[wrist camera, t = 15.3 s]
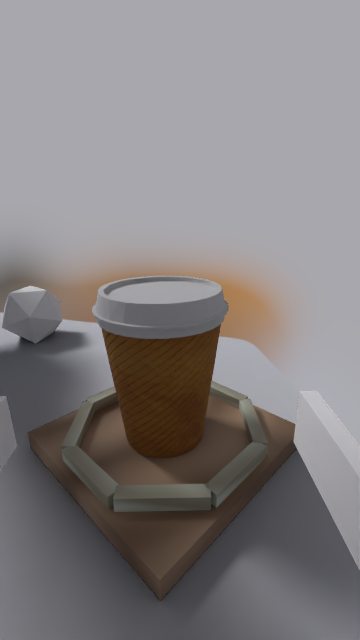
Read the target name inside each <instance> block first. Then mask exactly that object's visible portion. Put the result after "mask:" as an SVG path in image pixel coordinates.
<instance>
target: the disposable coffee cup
mask: <svg viewBox="0 0 360 640" xmlns="http://www.w3.org/2000/svg"><path fill="white" fill-rule="evenodd" d="M228 307H229V306H228V303H227V302H226V301H225V300H224V296H223V291H222V287H221V286H220V285H219V284H218V283H216V282H213V281H210V280H206V279H202V278H193V277H185V276H148V277H137V278H129V279H123V280H119V281H115V282H111V283H108V284H106V285H104V286H102V287H100V288H99V290H98V294H97V302H96V304H95V305H94V307H93V308H92V312H93V316H94V317H95V318H96V319H97V323H98V324H99V326H100V327H101V328H102V332H103V337H104V341H105V346H106V350H107V355H108V359H109V364H110V367H111V372H112V377H113V381H114V385H115V390H116V394H117V399H118V402H119V407H120V411H121V415H122V420H123V424H124V429H125V433H126V438H127V441H128V443H129V445H130V446H131V447H132V448H133V449H134V450H136V451H137V452H139V453H141V454H143V455H146V456H150V457H157V458H170V457H175V456H179V455H182V454H185V453H187V452H189V451H191V450H192V449H193V448H195V447H196V446H197V445H198V444H199V442H200V441H201V439H202V437H203V431H204V424H205V418H206V412H207V406H208V400H209V394H210V387H211V381H212V375H213V369H214V363H215V357H216V350H217V344H218V338H219V333H220V326H221V323H222V322H223V320H224V316H225V315H226V314H227V312H228Z"/></svg>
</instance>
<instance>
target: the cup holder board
mask: <svg viewBox="0 0 360 640" xmlns="http://www.w3.org/2000/svg"><path fill="white" fill-rule="evenodd" d="M295 425H296V424H294V423H291V422H289V421H287V420H285V419H283V418H280V417H278V416H276V415H274V414H272V413H269V412H267V411H265V410H263V409H261V408H258V407H256V406H254V405H253V404H252V402H251V399H248V396H245V395H243V394H241V393H238V392H236V391H234V390H232V389H229V388H227V387H225V386H222V385H220V384H218V383H216V382H213V381H211V387H210V394H209V400H208V406H207V412H206V418H205V424H204V431H203V437H202V439H201V441H200V442H199V444H198V445H197V446H196V447H195V448H193V449H192V450H191V451H189V452H187V453H185V454H182V455H179V456H175V457H170V458H157V457H150V456H146V455H143V454H141V453H139V452H137V451H136V450H134V449H133V448H132V447H131V446H130V445H129V443H128V441H127V438H126V433H125V429H124V424H123V420H122V415H121V411H120V407H119V402H118V399H117V394H116V390H115V386H114V387H112V388H110V389H107V390H105V391H103V392H101V393H98V394H96V395H94V396H92V397H90V398H87V399H86V401H83V402H82V404H81V407H80V409H78V410H76V411H73V412H71V413H69V414H67V415H65V416H63V417H61V418H58V419H56V420H54V421H52V422H50V423H48V424H45V425H43V426H41V427H39V428H37V429H35V430H33V431H30V432H28V436H29V441H30V446H31V449H32V450H33V451H34V452H35V453H36V454H37V456H38V457H39V458H40V459H41V460H42V462H43V463H44V464H45V465H46V466H47V467H48V469H49V470H50V471H51V472H52V473H53V474H54V476H55V477H56V478H57V479H58V480H59V482H60V483H61V484H62V485H63V486H64V487H65V489H66V490H67V491H68V492H69V493H70V495H71V496H72V497H73V498H74V499H75V500H76V502H77V503H78V504H79V505H80V506H81V507H82V509H83V510H84V511H85V512H86V513H87V515H88V516H89V517H90V518H91V519H92V520H93V522H94V523H95V524H96V525H97V526H98V528H99V529H100V530H101V531H102V532H103V533H104V535H105V536H106V537H107V538H108V539H109V541H110V542H111V543H112V544H113V545H114V546H115V548H116V549H117V550H118V551H119V552H120V553H121V555H122V556H123V557H124V558H125V559H126V561H127V562H128V563H129V564H130V565H131V566H132V568H133V569H134V570H135V571H136V572H137V574H138V575H139V576H140V577H141V578H142V579H143V581H144V582H145V583H146V584H147V585H148V586H149V588H150V589H151V590H152V591H153V592H154V594H155V595H156V596H157V597H158V598H159V599H160V601H161V600H162V599H163V598H164V596H165V595H166V594H167V593H168V592H169V591H170V590H171V589H172V587H173V586H174V585H175V584H176V583H177V582H178V581H179V580H180V579H181V577H182V576H183V575H184V574H185V573H186V572H187V571H188V570H189V568H190V567H191V566H192V565H193V564H194V563H195V562H196V561H197V559H198V558H199V557H200V556H201V555H202V554H203V553H204V552H205V550H206V549H207V548H208V547H209V546H210V545H211V544H212V543H213V541H214V540H215V539H216V538H217V537H218V536H219V535H220V534H221V533H222V531H223V530H224V529H225V528H226V527H227V526H228V525H229V524H230V522H231V521H232V520H233V519H234V518H235V517H236V516H237V515H238V513H239V512H240V511H241V510H242V509H243V508H244V507H245V506H246V504H247V503H248V502H249V501H250V500H251V499H252V498H253V497H254V496H255V494H256V493H257V492H258V491H259V490H260V489H261V488H262V487H263V485H264V484H265V483H266V482H267V481H268V480H269V479H270V478H271V476H272V475H273V474H274V473H275V472H276V471H277V470H278V469H279V467H280V466H281V465H282V464H283V463H284V462H285V461H286V460H287V459H288V457H289V456H290V455H291V454H292V453H293V452H294V451H295V450H296V446H295V444H294V442H293V441H294V433H295Z"/></svg>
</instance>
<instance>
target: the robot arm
mask: <svg viewBox="0 0 360 640" xmlns="http://www.w3.org/2000/svg"><path fill="white" fill-rule="evenodd" d="M293 442H294V444H295V446H296V448H297V450H298V452H299V454H300V455H301V457H302V459H303V461H304V463H305V465H306V467H307V469H308V471H309V473H310V475H311V477H312V479H313V481H314V483H315V485H316V487H317V489H318V491H319V493H320V494H321V496H322V498H323V500H324V502H325V504H326V506H327V508H328V510H329V512H330V514H331V516H332V518H333V520H334V522H335V524H336V526H337V528H338V530H339V531H340V533H341V535H342V537H343V539H344V541H345V543H346V545H347V547H348V549H349V551H350V553H351V555H352V557H353V559H354V561H355V563H356V565H357V567H358V569H359V570H360V445H359V444H358V443H357V441H356V440H355V439H354V438H353V436H352V435H351V434H350V433H349V431H348V430H347V429H346V427H345V426H344V425H343V424H342V422H341V421H340V420H339V419H338V417H337V416H336V415H335V413H334V412H333V411H332V410H331V408H330V407H329V406H328V405H327V403H326V402H325V401H324V400H323V398H322V397H321V396H320V394H319V393H318V392H317V391H300V393H299V401H298V409H297V417H296V425H295V433H294V441H293ZM16 448H17V443H16V439H15V434H14V429H13V424H12V420H11V415H10V410H9V405H8V401H7V396H0V471H1V470H2V469H3V467H4V466H5V464H6V463H7V461H8V460H9V458H10V457H11V455H12V454H13V452H14V451H15V449H16Z"/></svg>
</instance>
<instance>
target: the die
mask: <svg viewBox="0 0 360 640" xmlns="http://www.w3.org/2000/svg"><path fill="white" fill-rule="evenodd" d="M61 322H62V316H61V305H60V301H59V300H58V299H56V298H55V297H54V296H53V295H52V294H50V293H49V292H48V291H47V290H44V289H40V288H37V287H33V286H29V287H26V288H23V289H20V290H17V291H14V292H12V293H9V295H8V298H7V301H6V304H5V309H4V316H3V324H2V328H4V329H6V330H8V331H10V332H12V333H14V334H16V335H19V336H21V337H23V338H25V339H27V340H29V341H31V342H33V343H35V344H36V343H37V342H39V341H41V340H42V339H44V338H45V337H47V336H48V335H50V334H51V333H53V332H54V331H55V330H56V328H57V327H58V326H59V324H60V323H61Z"/></svg>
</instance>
